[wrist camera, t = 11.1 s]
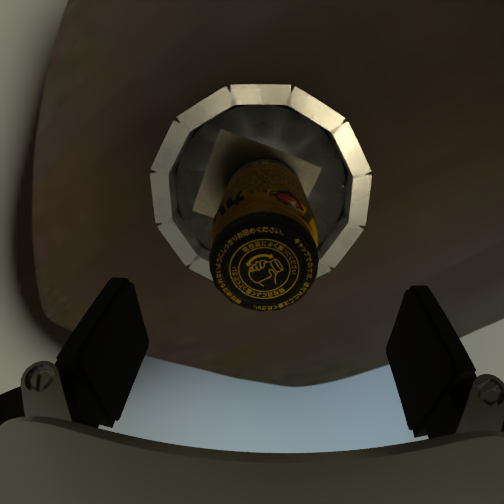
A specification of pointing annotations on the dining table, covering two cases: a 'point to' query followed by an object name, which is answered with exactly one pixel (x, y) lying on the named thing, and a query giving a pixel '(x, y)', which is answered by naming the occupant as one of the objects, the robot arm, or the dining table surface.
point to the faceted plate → (276, 136)
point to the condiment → (259, 223)
